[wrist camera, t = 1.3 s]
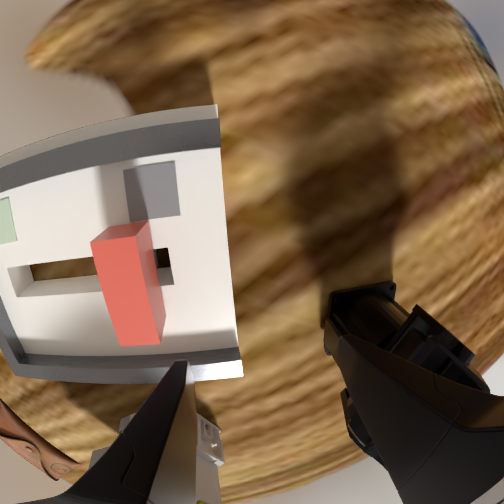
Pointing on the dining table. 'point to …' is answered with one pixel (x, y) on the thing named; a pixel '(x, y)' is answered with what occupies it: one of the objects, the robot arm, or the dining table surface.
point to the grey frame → (89, 156)
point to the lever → (130, 283)
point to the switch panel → (111, 214)
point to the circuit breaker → (205, 459)
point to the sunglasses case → (33, 445)
